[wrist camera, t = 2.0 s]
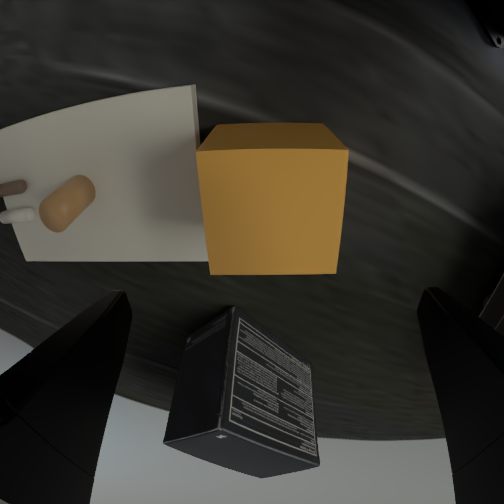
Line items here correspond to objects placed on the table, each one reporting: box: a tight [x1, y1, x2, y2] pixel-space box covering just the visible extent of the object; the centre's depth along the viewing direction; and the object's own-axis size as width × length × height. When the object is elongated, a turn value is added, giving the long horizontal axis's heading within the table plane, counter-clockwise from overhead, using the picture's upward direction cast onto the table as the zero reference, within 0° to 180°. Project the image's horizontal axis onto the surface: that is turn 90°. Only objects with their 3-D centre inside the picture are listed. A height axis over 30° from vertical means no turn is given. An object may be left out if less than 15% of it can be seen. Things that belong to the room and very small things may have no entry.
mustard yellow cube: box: [196, 123, 349, 275], centre depth 16 cm, size 6×6×6 cm
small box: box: [163, 307, 320, 478], centre depth 23 cm, size 11×6×10 cm, turn 43°
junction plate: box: [0, 84, 208, 261], centre depth 17 cm, size 16×11×5 cm, turn 92°
